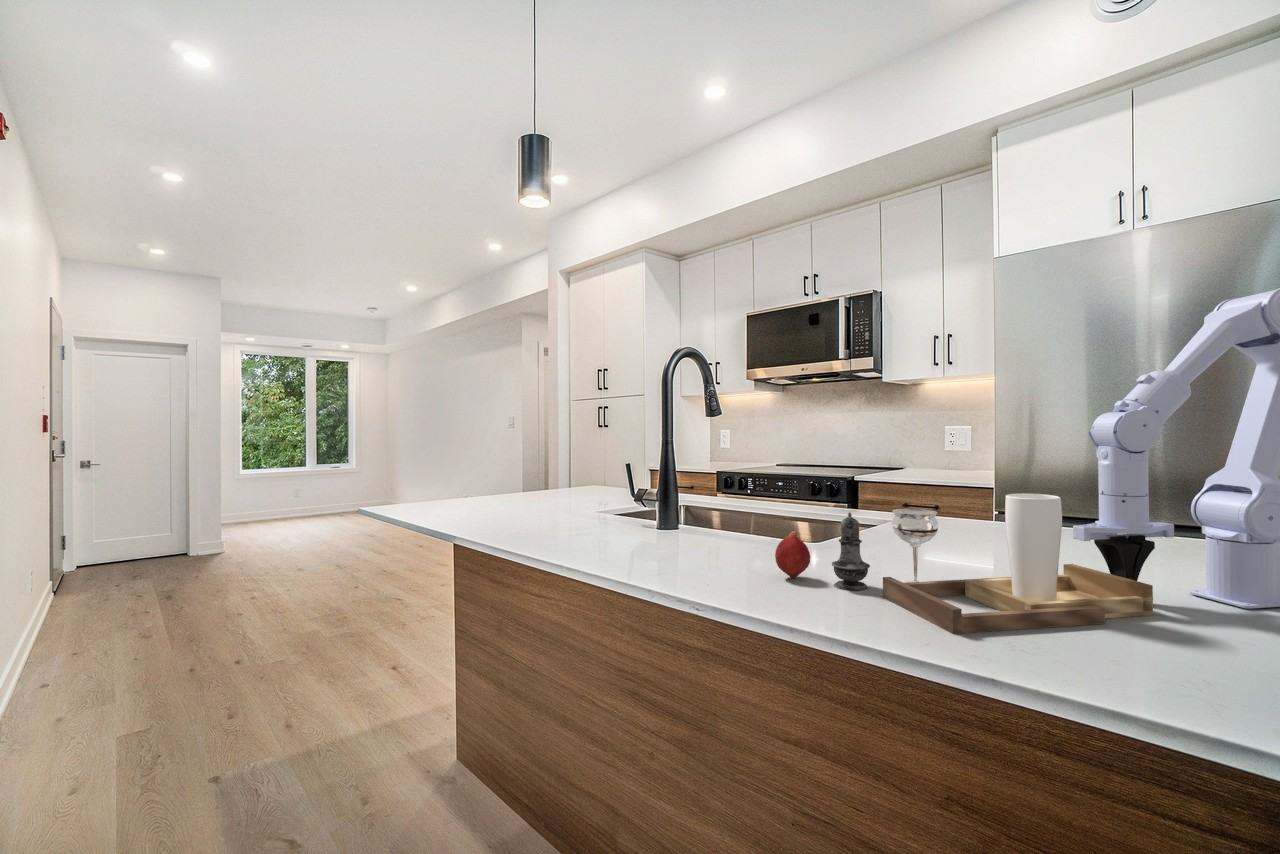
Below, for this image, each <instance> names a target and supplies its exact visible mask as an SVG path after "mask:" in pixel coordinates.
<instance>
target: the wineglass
mask: <svg viewBox="0 0 1280 854" xmlns="http://www.w3.org/2000/svg"><path fill="white" fill-rule="evenodd" d="M891 512H892V513H893V515H894V516H893V519H892V521H891V525H892V530H893V532H894V534H896V535H897V536H898V538H900V540H902V541H904V542H906V543H908V544H909V546H910V547H911V548H912V558H913V559H912V560H913V561H912V563H913V564H912V565H913V576H914V577H913V578H914V580H912V581H911V580H910V582H919V580H918V562H919V561H918V560H919V559H918V553H919V552H918V551H919V548H920V547H921V545H923V544H924V543H926V542H927V543H928V542H929V541H930V540H932V539H933V538H934V537H935V536H936V534H937V532H938V530H939V527H938V526H939V524H938V520H937V519H936V516H937V514H938V512H937V511H935V510H932V509H925V508H924V509H922V508H896V509H892V511H891ZM908 582H909V581H907V582H904V583H908Z"/></svg>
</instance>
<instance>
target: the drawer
mask: <svg viewBox="0 0 1280 854" xmlns="http://www.w3.org/2000/svg"><path fill="white" fill-rule="evenodd" d="M994 578H995V579H982V578H975V579H976V580H965V595H964V596H965V597H966V598H969V599H971V600H974V601H976V602H979V603H981V604H984V605H986V606H988V607H991V608H993V609H996V610H998V611H1014V610H1030V609H1046V608H1062V607H1078V606H1095V605H1097V606H1100V607H1103V608H1105V619H1116V618H1117V619H1118V618H1134V617H1145V616H1146V617H1147V616H1148V617H1149V616H1154V599H1153V598H1154V597H1153V596H1154V595H1153V594H1154V590H1153V588H1154V587H1153V585H1152V584H1149V583H1145V582H1141V581H1138V580H1137V581H1134V580H1131V579H1127V578H1123V577H1119V576H1116V575H1112V574H1110V573H1108V572H1103V571H1100V570H1096V569H1092V568H1089V567H1085V566H1081V565H1077V564H1074V563H1067V564H1066V563H1064V564H1063V574H1058V578H1057V601H1044V602H1030V601H1027V600H1024V599H1022V598H1019V597H1016V596H1014V595H1012V580H1011V578H1000V577H994Z"/></svg>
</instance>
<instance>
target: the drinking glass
mask: <svg viewBox="0 0 1280 854" xmlns="http://www.w3.org/2000/svg"><path fill="white" fill-rule="evenodd" d="M1004 500H1005V505H1004V516H1005V517H1004V518H1005V519H1004V520H1005V532H1006V540H1007V541H1006V542H1007V551H1008V559H1009V568H1010V577H1011V580H1012V595H1014V596H1016V597H1019V598H1022V599H1024V600H1027V601H1030V602H1044V601H1057V578H1058V575H1059V566H1060V565H1059V564H1060V553H1061V543H1062V529H1063V511H1062V508H1063V507H1062V499H1061V497H1060V496H1058V495H1051V494H1042V493H1009V494H1005V499H1004Z"/></svg>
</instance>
